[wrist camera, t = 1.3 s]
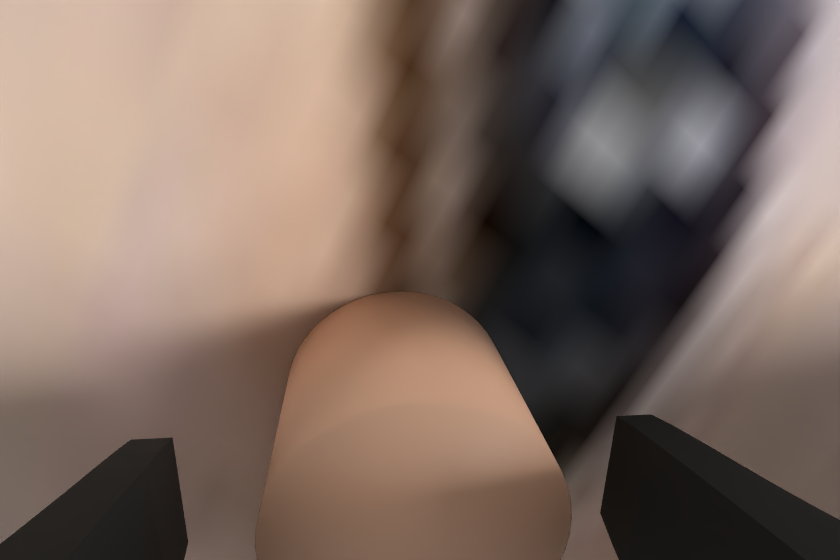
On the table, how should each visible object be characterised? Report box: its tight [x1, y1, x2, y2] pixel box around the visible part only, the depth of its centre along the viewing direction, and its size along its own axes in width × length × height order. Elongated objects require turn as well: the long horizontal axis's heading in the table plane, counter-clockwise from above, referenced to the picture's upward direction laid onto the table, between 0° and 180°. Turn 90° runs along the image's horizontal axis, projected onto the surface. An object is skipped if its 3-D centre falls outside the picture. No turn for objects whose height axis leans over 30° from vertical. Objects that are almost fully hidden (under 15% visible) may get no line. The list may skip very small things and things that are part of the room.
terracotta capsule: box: [255, 291, 571, 560], centre depth 10 cm, size 4×4×4 cm
